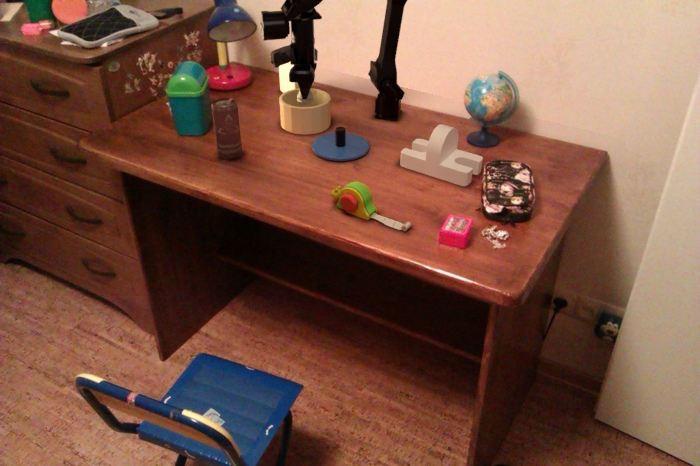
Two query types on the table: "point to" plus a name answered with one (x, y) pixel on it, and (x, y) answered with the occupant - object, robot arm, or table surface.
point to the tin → (305, 112)
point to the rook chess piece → (305, 101)
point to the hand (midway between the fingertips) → (305, 95)
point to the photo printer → (286, 78)
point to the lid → (340, 145)
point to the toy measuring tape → (363, 204)
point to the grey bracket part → (442, 157)
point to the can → (227, 128)
